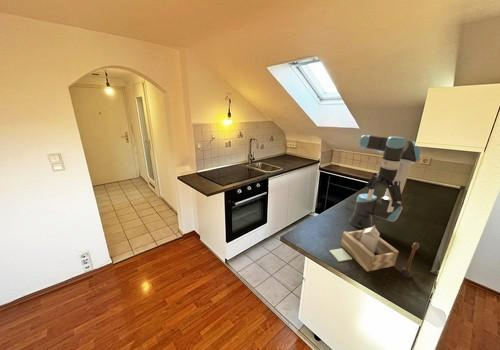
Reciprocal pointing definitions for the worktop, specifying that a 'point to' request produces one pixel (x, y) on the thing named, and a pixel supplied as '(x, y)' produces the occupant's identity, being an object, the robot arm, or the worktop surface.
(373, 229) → the milk carton
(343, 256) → the place mat
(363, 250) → the crate
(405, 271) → the wooden tabletop sculpture
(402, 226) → the worktop surface
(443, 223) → the worktop surface
